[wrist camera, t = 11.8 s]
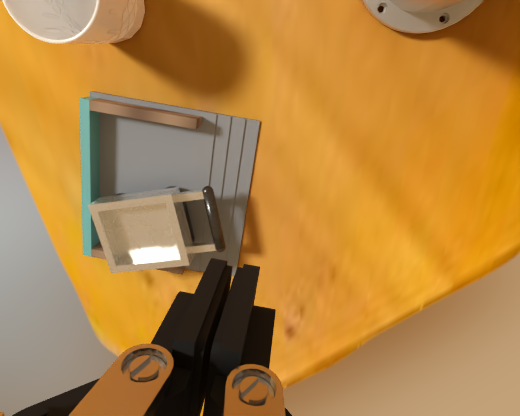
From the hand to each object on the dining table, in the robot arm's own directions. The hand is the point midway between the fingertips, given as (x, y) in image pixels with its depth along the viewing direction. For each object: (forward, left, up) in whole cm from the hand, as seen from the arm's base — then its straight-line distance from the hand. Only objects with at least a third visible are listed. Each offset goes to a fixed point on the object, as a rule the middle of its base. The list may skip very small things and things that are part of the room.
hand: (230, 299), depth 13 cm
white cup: (+18, -10, -29) cm, 36 cm away
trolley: (+11, +11, -28) cm, 32 cm away
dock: (+11, +8, -29) cm, 32 cm away
